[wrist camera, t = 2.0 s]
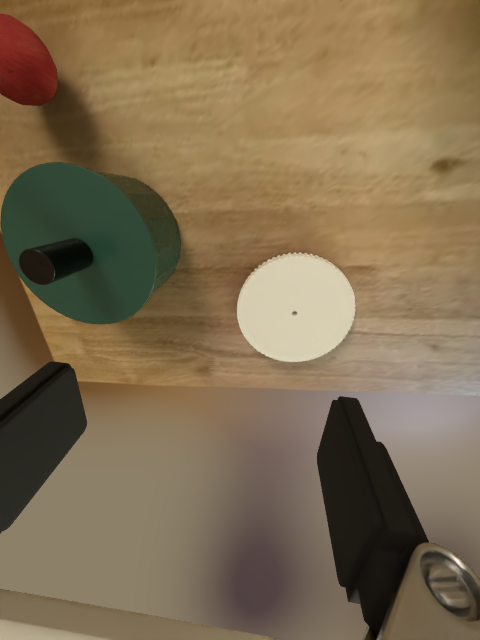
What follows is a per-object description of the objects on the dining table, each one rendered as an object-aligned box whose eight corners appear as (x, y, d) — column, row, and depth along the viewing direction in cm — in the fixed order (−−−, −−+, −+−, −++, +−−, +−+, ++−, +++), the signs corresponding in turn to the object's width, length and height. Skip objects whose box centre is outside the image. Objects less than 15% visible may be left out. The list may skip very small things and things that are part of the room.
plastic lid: (353, 343, 36) (359, 353, 34) (252, 358, 39) (250, 369, 36) (344, 238, 30) (350, 241, 28) (226, 264, 33) (223, 270, 31)
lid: (-3, 147, 23) (-93, 132, 17) (165, 183, 22) (131, 180, 17) (25, 303, 29) (-32, 330, 24) (157, 332, 29) (130, 365, 23)
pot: (67, 163, 30) (-3, 154, 22) (185, 189, 30) (156, 188, 22) (77, 278, 36) (25, 302, 28) (175, 300, 36) (150, 329, 28)
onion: (40, 123, 28) (-37, 100, 21) (7, 54, 26) (-92, 2, 19) (86, 103, 27) (21, 72, 20) (56, 29, 25) (-30, -36, 18)
